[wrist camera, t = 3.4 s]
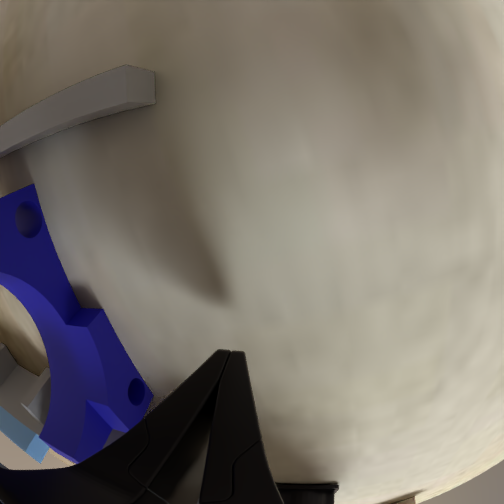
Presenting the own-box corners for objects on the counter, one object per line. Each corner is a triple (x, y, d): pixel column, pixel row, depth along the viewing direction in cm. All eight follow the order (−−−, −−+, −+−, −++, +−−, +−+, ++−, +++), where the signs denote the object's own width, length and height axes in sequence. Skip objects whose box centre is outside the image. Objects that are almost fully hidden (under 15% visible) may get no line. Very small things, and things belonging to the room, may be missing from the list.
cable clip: (154, 393, 13) (113, 481, 8) (98, 381, 14) (55, 451, 9) (56, 172, 8) (-73, 235, 3) (8, 198, 9) (-83, 252, 4)
